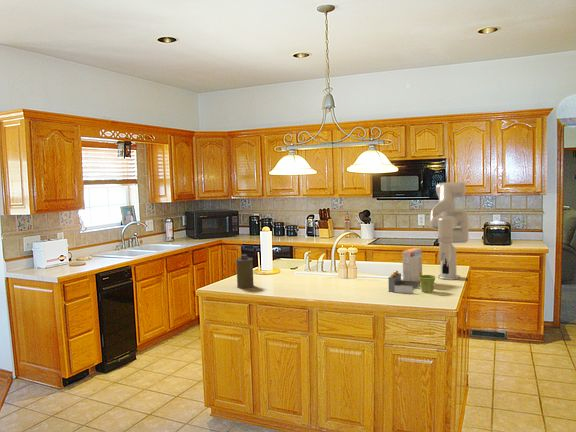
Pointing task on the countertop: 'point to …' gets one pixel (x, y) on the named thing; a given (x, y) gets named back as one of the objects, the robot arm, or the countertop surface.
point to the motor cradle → (401, 284)
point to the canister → (244, 272)
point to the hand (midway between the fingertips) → (445, 273)
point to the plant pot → (427, 283)
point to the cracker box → (412, 264)
